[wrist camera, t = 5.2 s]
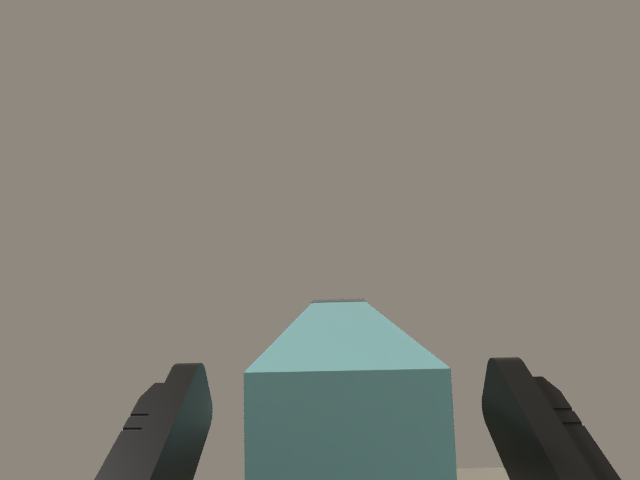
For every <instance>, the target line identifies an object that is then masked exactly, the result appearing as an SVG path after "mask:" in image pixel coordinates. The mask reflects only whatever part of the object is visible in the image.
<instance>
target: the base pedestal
mask: <svg viewBox="0 0 640 480" xmlns="http://www.w3.org/2000/svg"><path fill="white" fill-rule="evenodd" d="M456 471H457V480H510V479H509V477H508V475H507V472H506V470H505V468H456Z"/></svg>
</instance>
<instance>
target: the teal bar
mask: <svg viewBox="0 0 640 480" xmlns="http://www.w3.org/2000/svg"><path fill="white" fill-rule="evenodd" d="M311 303H312V304H311V305H310V306H309V307H308V308H307V309H306V310H305V311H304V312H303V313H302V314H301V315H300V316H299V317H298V318H297V319H296V320H295V321H294V322H293V323H292V324H291V325H290V326H289V327H288V328H287V329H286V330H285V331H284V332H283V333H282V334H281V335H280V336H279V337H278V338H277V339H276V340H275V341H274V342H273V343H272V344H271V345H270V346H269V347H268V348H267V350H266V351H265V352H264V353H263V354H262V355H261V356H260V357H259V358H258V359H257V360H256V361H255V362H254V363H253V364H252V365H251V366H250V367H249V368H248V369H247V370H246V371H245V372H244V433H245V434H244V436H245V438H244V439H245V440H244V443H245V480H457V471H456V455H455V454H456V453H455V436H454V419H453V402H452V384H451V369H450V368H449V367H448V366H447V365H446V364H444V363H443V362H442V361H440V360H439V359H438V358H436V357H435V356H434V355H433V354H432V353H430V352H429V351H428V350H426V349H425V348H424V347H423V346H421V345H420V344H419V343H417V342H416V341H415V340H414V339H412V338H411V337H410V336H409V335H407V334H406V333H404V332H403V331H402V330H401V329H400V328H398V327H397V326H396V325H395V324H393V323H392V322H391V321H389V320H388V319H387V318H385V317H384V316H383V315H382V314H380V313H379V312H378V311H377V310H375V309H374V308H373V307H372V306H370V305H369V304H368V303H366V301H365V300H364V299H339V300H313V301H312V302H311Z"/></svg>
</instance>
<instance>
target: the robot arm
mask: <svg viewBox="0 0 640 480" xmlns="http://www.w3.org/2000/svg"><path fill="white" fill-rule="evenodd" d="M482 411H483V416H484V420H485V423H486V425H487V427H488V430H489V432H490V435H491V437H492V439H493V442H494V444H495V446H496V449H497V451H498V453H499V456H500V458H501V460H502V463H503V465H504V468H505V470H506V472H507V475H508V477H509V479H510V480H621V479H620V477H619V476H618V475H617V473H616V472H615V470H614V469H613V467H612V466H611V464H610V463H609V461H608V460H607V458H606V457H605V456H604V454H603V453H602V451H601V450H600V448H599V447H598V445H597V444H596V442H595V441H594V440H593V438H592V437H591V435H590V434H589V432H588V431H587V429H586V428H585V426H582V423H581V421H580V419H579V418H578V416H577V415H576V413H575V412H574V411H572V408H571V406H570V405H569V403H568V402H567V400H566V399H565V397H564V396H563V394H562V393H561V391H560V390H558V389H557V388H556V387H555V386H553V385H552V384H551V383H550V382H548V381H547V380H546V379H545V378H543V377H532V375H531V373H530V372H529V370H528V369H527V367H526V365H525V364H524V362H523V361H522V360H521V359H520V358H518V357H511V358H490V359H489V361H488V364H487V371H486V377H485V383H484V389H483V395H482ZM211 420H212V401H211V396H210V391H209V386H208V381H207V376H206V372H205V367H204V365H203V364H202V363H184V364H183V363H181V364H175V365H174V366H173V367H172V369H171V371H170V373H169V375H168V377H167V379H166V381H165V383H155V384H153V385H152V386H151V387H150V388H149V389H148V390H147V391H146V392H145V393H144V394H143V395H142V396H141V397H140V398H139V400H138V402H137V404H136V405H135V407H134V409H133V411H132V413H131V416H130V417H129V418H128V420H127V421H126V423H125V425H124V427H123V431H121V432H120V434H119V436H118V438H117V440H116V442H115V443H114V445H113V447H112V449H111V450H110V452H109V454H108V456H107V458H106V460H105V461H104V463H103V465H102V467H101V469H100V471H99V472H98V474H97V476H96V478H95V479H94V480H193V478H194V475H195V472H196V469H197V466H198V463H199V459H200V456H201V453H202V450H203V447H204V444H205V441H206V438H207V434H208V431H209V428H210V425H211Z"/></svg>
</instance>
